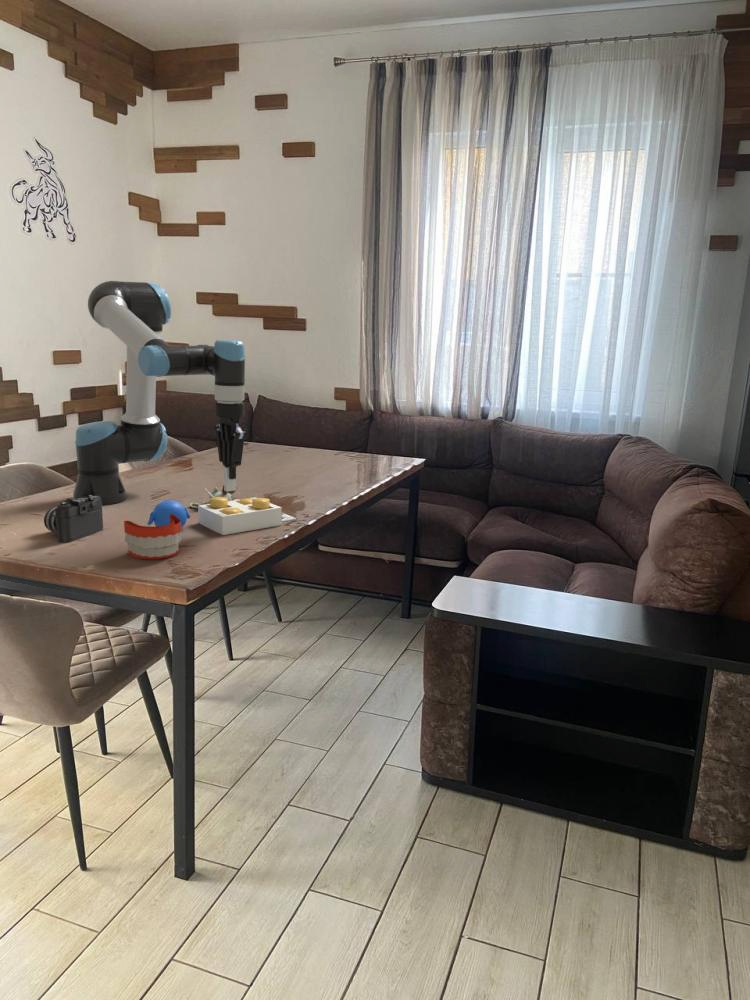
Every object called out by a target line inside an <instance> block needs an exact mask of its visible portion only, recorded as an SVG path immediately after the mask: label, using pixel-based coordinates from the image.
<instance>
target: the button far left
mask: <svg viewBox="0 0 750 1000" xmlns="http://www.w3.org/2000/svg"><path fill="white" fill-rule="evenodd" d="M209 501H210V508H213V509H221V508H228V498H226V497H213V498H210V497H209Z"/></svg>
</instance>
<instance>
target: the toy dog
mask: <svg viewBox="0 0 750 1000" xmlns="http://www.w3.org/2000/svg"><path fill="white" fill-rule="evenodd" d="M204 490H205V491H206V493H207V494H208V495H209V499H210V498H213V497H226V498H228V501H234V500H241V499H240V498H236V499H234V498H233V494H235V493H236V491H237V490H238V487H237V486H236V490H235V491H225V490H224V484H223V486H222V489H221V490H222V491H219V490H220V489H219V488H218V487H217V486H215V487H213V491H212V492H210V491H208V490H207V488H205V487H204ZM206 504H210V500H209V501H208V502H206V501H202V502H201V503H197V502H190V503H189V506H190V507H191V508H192V509H196V510H198V505H206Z"/></svg>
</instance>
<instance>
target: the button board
mask: <svg viewBox="0 0 750 1000" xmlns="http://www.w3.org/2000/svg"><path fill="white" fill-rule="evenodd" d="M250 498H251V499H255V498H257V497H250ZM197 507H198V509H197V510H198V515H197V516H198V524H199V525H201V526H203V527H206V528H207V529H210V530H212V531H213V532H215V533H218V534H219V535H222V536H226V535H232V534H237V533H245V532H250V531H255V530H261V529H266V528H273V527H279V526H282V524H283V522H282V513H283V511H282V506H279V505H276V504H274V503H272V502H270V509H264V510H255V509H253V508H252V504H249V505H243V504H240V503H239V500H234V501H228V508H239V509H241V513H238V514H231V515H226V514H224V513H222V510H223V509H225V508H221V509H213V508H210V504H206V505H198V506H197Z"/></svg>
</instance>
